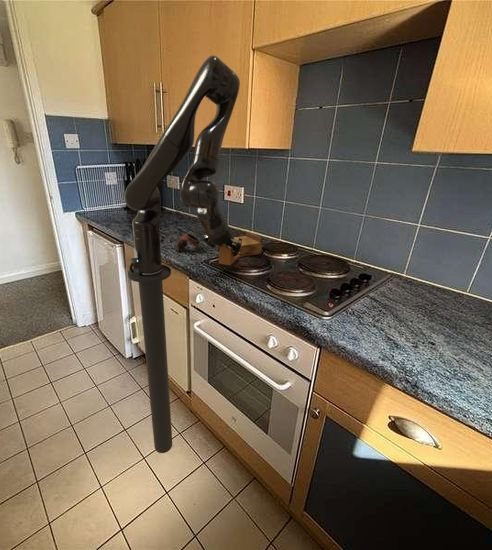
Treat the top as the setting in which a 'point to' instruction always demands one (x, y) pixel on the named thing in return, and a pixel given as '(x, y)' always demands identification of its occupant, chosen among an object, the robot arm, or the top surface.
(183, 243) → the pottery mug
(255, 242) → the tan wooden block
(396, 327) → the top surface
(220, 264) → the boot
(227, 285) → the top surface
